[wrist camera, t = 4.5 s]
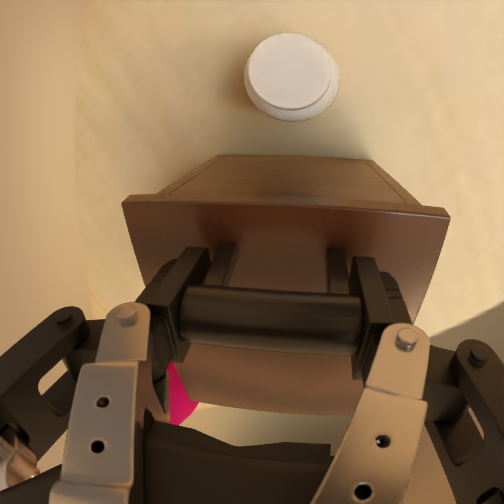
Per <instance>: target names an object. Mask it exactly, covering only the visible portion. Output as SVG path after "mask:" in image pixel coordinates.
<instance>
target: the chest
mask: <svg viewBox="0 0 504 504" xmlns="http://www.w3.org/2000/svg"><path fill="white" fill-rule="evenodd" d="M157 194H246V195H280V196H303V197H323V198H339V199H354V200H367V201H380V202H391V203H402V204H413V205H421V204H420V203H419V202H418V201H417V200H416V199H415V198H414V197H413V196H412V195H411V194H410V193H409V192H408V191H407V190H405V189H404V188H403V187H402V186H401V185H400V184H399V183H398V182H397V181H396V180H395V179H393V178H392V177H391V176H390V175H389V174H388V173H387V172H386V171H384V170H383V169H382V168H381V167H380V166H379V165H377V164H376V163H375V162H374V161H371V160H360V159H347V158H333V157H316V156H292V155H218V156H216V157H214V158H213V159H211V160H209V161H207V162H206V163H204V164H203V165H201V166H199V167H198V168H196V169H194V170H193V171H191V172H189V173H188V174H186V175H185V176H183V177H182V178H180V179H178V180H177V181H175V182H174V183H172V184H171V185H169V186H167V187H166V188H164V189H163V190H161V191H160V192H158V193H157Z"/></svg>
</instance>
